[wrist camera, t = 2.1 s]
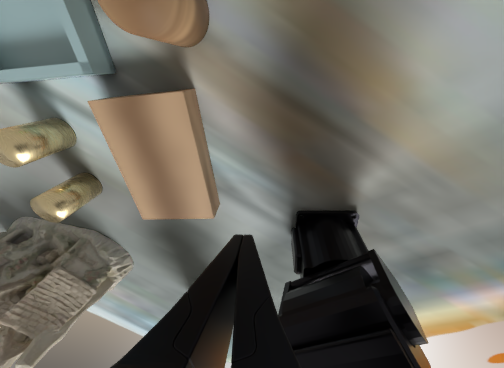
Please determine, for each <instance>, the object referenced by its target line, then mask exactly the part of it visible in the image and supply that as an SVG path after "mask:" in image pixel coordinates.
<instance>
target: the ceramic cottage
mask: <svg viewBox="0 0 504 368" xmlns="http://www.w3.org/2000/svg"><path fill="white" fill-rule="evenodd" d="M133 265H134V262H133V260H132V257H131V256H130V255H129V253H128V252H127V251H126V250H125V249H124V248H122V247H121V246H120V245H119V244H117V243H116V242H114V241H113V240H111V239H109V238H108V237H104V235H101V234H100V233H98V232H96V231H94V230H88V229H85V228H79V227H76V226H71V225H66V224H62V223H53V222H49V221H46V220H42V219H38V218H34V217H21V218H19V219H17V220H16V221H15V222H13V223H12V225H11V226H10V227H9V228H8V230H7V232H1V233H0V327H1V328H0V368H10V367H11V366H12V364H13V363H14V362H15V361H16V360H17V359H18V358H19V357H20V358H19V359H18V361H17V362H16V364H15V368H33V367H34V366H35V365H36V364H37V363H38V362H39V361H40V360H41V359H42V358H43V356H44V355H45V354H46V353H47V352H48V351H49V350H50V349H51V348H52V347H53V346H54V345H55V344H56V343H58V342H59V341H60V340H61V339H63V338H64V336H65V335H66V333H67V332H68V331H69V329H70V328H71V327H72V325H73V324H74V323H75V322H76V320H77V319H78V318H79V317H80V316H81V315H82V314H83V313H84V312H85V311H86V310H87V309H88V308H89V307H90V306H92V305H93V304H94V303H96V302H97V301H99V300H100V299H101V298H102V296H103V295H104V294H105V293H106V292H107V291H108V290H113V289H114V287H115V286H116V285H117V284H118V283H119V281H121V280H122V279H123V278H124V277H125V276H126V275H127V274H128V273H129V272H130V271H131V270H132V269H133Z"/></svg>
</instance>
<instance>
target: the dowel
mask: <svg viewBox="0 0 504 368" xmlns="http://www.w3.org/2000/svg"><path fill="white" fill-rule="evenodd" d="M98 2H99V4H100V6H101V7H102V9H103V10H104V12H105V13H106V15H107V16H108V17H109V18H110V19H111V20H112V21H113V22H114V23H115V24H116V25H117V26H118V27H120V28H121V29H123V30H124V31H126V32H128V33H131V34H134V35H138V36H142V37H146V38H149V39H153V40H157V41H161V42H165V43H169V44H173V45H177V46H181V47H192V46H195V45H196V44H198V43H199V42H200V41H201V40H202V39H203V38H204V36H205V34H206V32H207V29H208V25H209V9H208V4H207V1H206V0H98Z"/></svg>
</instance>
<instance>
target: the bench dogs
mask: <svg viewBox="0 0 504 368" xmlns="http://www.w3.org/2000/svg"><path fill="white" fill-rule="evenodd" d="M75 144H76V135H75V133H74V131H73V129H72V128H71V127H70V126H69V125H68V124H67V123H66V122H64V121H63V120H61V119H58V118H50V119H45V120H40V121H36V122H31V123H26V124H22V125H17V126H13V127H8V128H3V129H0V162H1V163H2V164H4V165H6V166H9V167H20V166H22V165H25V164H28V163H30V162H33V161H36V160H38V159H41V158H44V157H46V156H49V155H51V154H54V153H57V152H59V151H62V150H65V149H67V148H70V147H72V146H74V145H75ZM101 192H102V185H101V183H100V182H99V180H98V179H97V178H95V177H94V176H92V175H90V174H88V173H80V174H78V175H76V176H74V177H72V178H70V179H68V180H67V181H65V182H63V183H61V184H59V185H57V186H55V187H53V188H52V189H50V190H48V191H46V192H44V193H42V194H40V195H38V196H37V197H35V198H33V199H32V200H31V201H30V205H31V208H32V209H33V211H34V212H35V213H36V214H37V215H38V216H40V217H41V218H43V219H44V220H46V221H49V222H53V223H59V222H61V221H63V220H64V219H65V218H67V217H68V216H70V215H71V214H72V213H74V212H75V211H77V210H78V209H79V208H81V207H82V206H84V205H85V204H87V203H88V202H89V201H91V200H92V199H94V198H95V197H96V196H98V195H99V194H101Z"/></svg>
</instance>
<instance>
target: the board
mask: <svg viewBox="0 0 504 368" xmlns="http://www.w3.org/2000/svg"><path fill="white" fill-rule="evenodd" d="M88 103H89V105H90V107H91V110H92V112H93V114H94V116H95V118H96V120H97V122H98V125H99V127H100V129H101V131H102V133H103V135H104V137H105V139H106V142H107V144H108V146H109V148H110V150H111V152H112V154H113V157H114V159H115V161H116V163H117V165H118V167H119V169H120V171H121V174H122V176H123V178H124V180H125V182H126V184H127V186H128V189H129V191H130V193H131V195H132V197H133V199H134V201H135V203H136V206H137V208H138V210H139V212H140V214H141V216H142V218H143V219H210V218H214V217H215V215H216V212H217V210H218V207H219V205H220V202H219V197H218V193H217V188H216V184H215V179H214V174H213V170H212V165H211V161H210V156H209V151H208V147H207V142H206V137H205V133H204V128H203V124H202V119H201V114H200V110H199V105H198V101H197V96H196V91H195V89H186V90H176V91H167V92H158V93H148V94H139V95H129V96H120V97H111V98H105V99H98V100H92V101H88Z"/></svg>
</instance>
